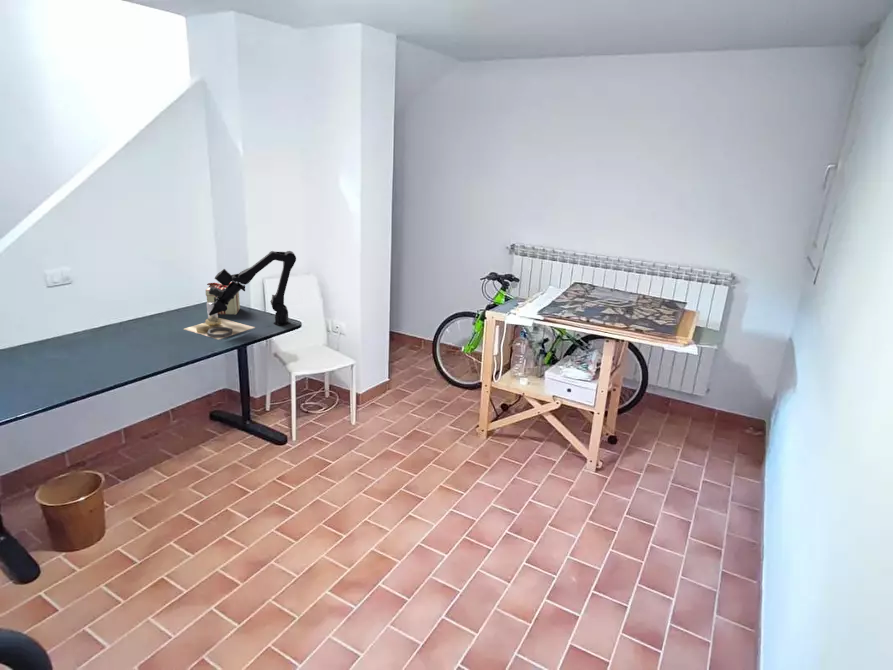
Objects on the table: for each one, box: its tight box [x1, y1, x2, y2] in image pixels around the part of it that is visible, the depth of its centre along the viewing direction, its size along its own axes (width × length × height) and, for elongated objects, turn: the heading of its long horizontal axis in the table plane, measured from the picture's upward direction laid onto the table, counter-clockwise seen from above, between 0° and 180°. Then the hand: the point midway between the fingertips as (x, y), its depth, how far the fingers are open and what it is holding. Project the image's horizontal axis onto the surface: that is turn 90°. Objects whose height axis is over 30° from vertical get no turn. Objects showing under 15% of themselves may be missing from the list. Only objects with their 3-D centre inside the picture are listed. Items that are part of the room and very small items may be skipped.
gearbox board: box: [184, 317, 256, 342], centre depth 284 cm, size 23×26×4 cm
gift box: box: [205, 281, 241, 316], centre depth 309 cm, size 17×18×17 cm
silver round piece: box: [204, 302, 222, 326], centre depth 284 cm, size 8×8×11 cm
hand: (209, 313), depth 284 cm, fingers closed on silver round piece, 5 cm apart
